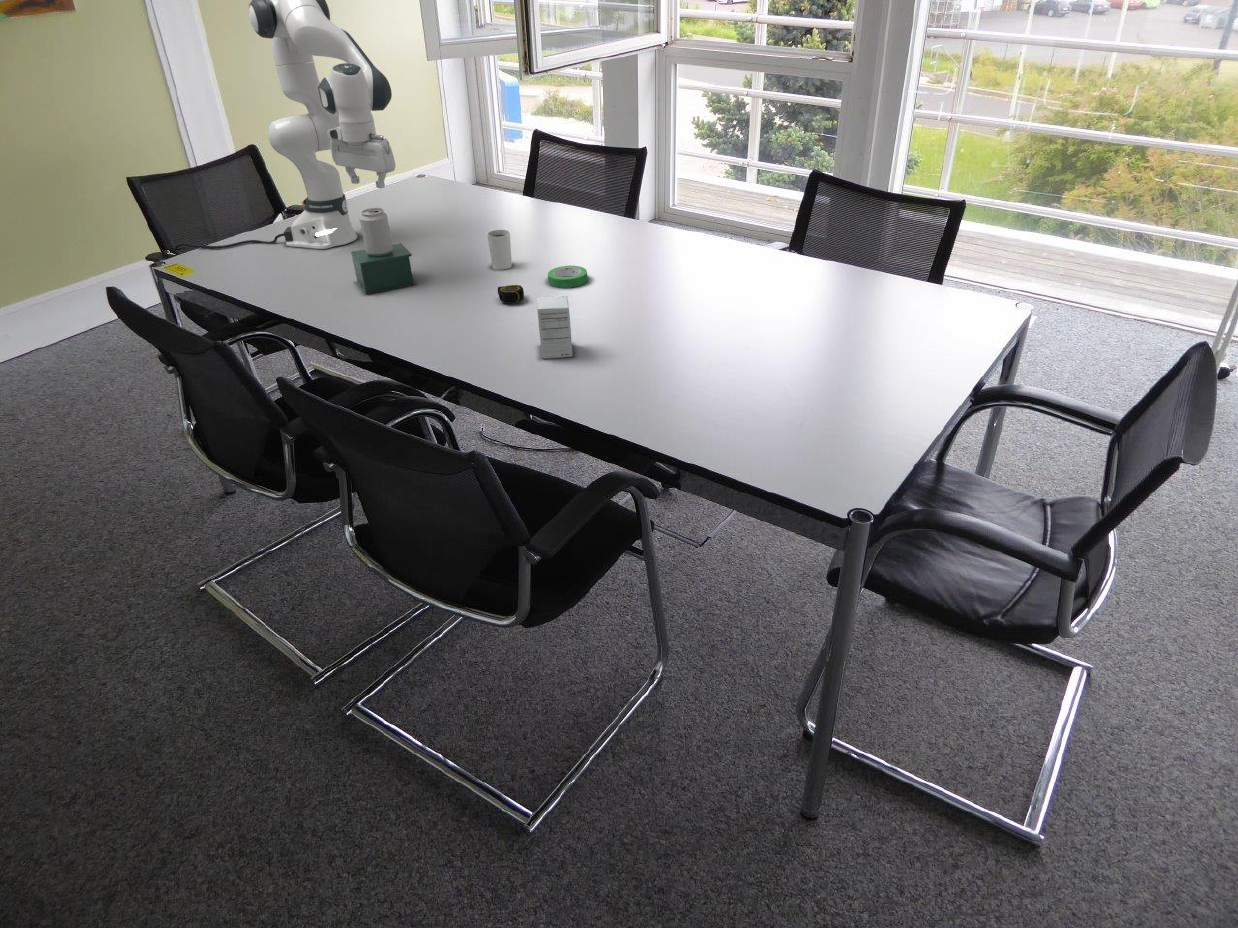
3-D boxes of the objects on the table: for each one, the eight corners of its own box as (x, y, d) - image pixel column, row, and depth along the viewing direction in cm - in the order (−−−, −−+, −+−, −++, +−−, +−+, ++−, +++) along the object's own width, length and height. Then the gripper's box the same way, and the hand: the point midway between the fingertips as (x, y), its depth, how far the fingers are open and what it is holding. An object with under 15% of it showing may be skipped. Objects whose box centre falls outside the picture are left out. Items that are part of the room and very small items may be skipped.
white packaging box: (541, 346, 210) (536, 296, 203) (571, 344, 210) (568, 294, 203) (541, 359, 204) (536, 309, 197) (572, 357, 204) (569, 306, 197)
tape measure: (523, 295, 238) (522, 282, 236) (525, 304, 232) (524, 291, 230) (498, 298, 237) (496, 284, 235) (500, 307, 231) (498, 294, 229)
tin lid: (401, 245, 252) (401, 243, 251) (411, 256, 243) (411, 253, 243) (351, 254, 246) (351, 251, 246) (360, 265, 238) (360, 263, 238)
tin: (403, 273, 256) (398, 245, 251) (413, 285, 247) (409, 256, 243) (357, 282, 251) (351, 254, 246) (366, 294, 242) (360, 266, 238)
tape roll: (540, 282, 246) (539, 273, 244) (568, 271, 252) (567, 262, 251) (567, 291, 239) (567, 282, 238) (595, 279, 246) (595, 270, 245)
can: (396, 248, 247) (389, 206, 241) (388, 257, 241) (380, 214, 234) (371, 248, 248) (363, 206, 241) (362, 257, 242) (354, 214, 235)
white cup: (517, 264, 259) (514, 231, 254) (505, 271, 254) (502, 238, 249) (498, 261, 262) (494, 228, 256) (486, 268, 257) (482, 235, 251)
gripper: (395, 133, 225) (404, 187, 233) (340, 126, 235) (350, 178, 242) (378, 138, 221) (387, 193, 229) (322, 131, 230) (333, 184, 238)
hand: (368, 185), depth 235 cm, fingers open, 8 cm apart
